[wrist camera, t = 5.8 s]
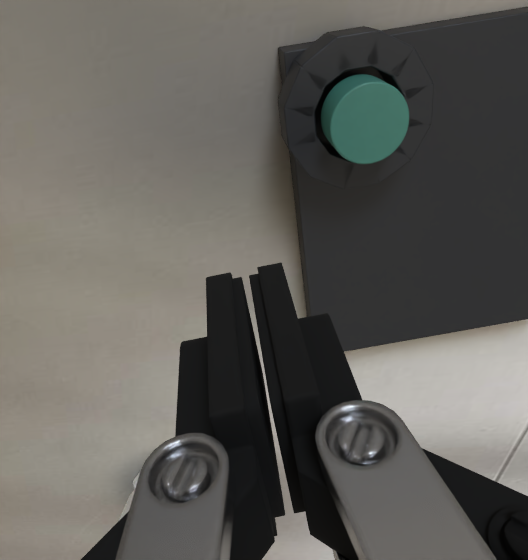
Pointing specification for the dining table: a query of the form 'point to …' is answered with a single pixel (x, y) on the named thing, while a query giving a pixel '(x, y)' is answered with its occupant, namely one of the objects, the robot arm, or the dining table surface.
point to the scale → (415, 180)
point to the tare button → (364, 118)
